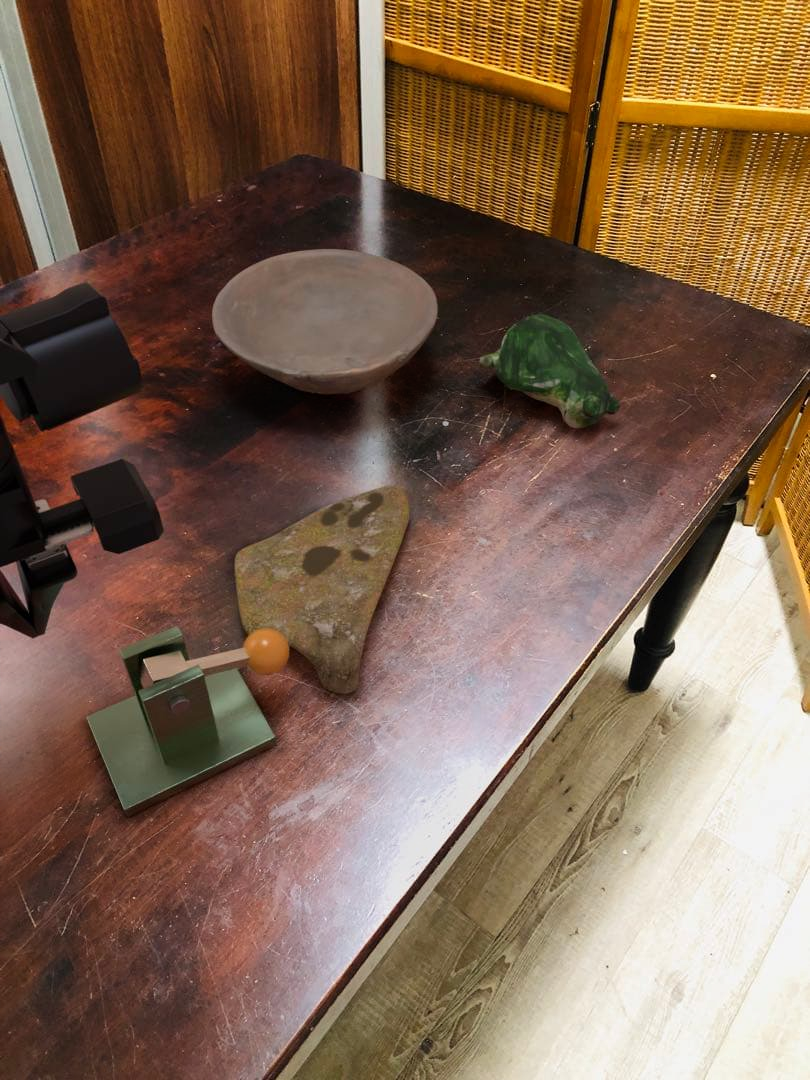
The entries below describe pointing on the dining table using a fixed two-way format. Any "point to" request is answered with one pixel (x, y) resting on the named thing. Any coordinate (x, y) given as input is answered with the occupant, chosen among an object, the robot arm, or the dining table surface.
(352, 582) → the decorative stone
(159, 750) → the switch bracket
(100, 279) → the dining table surface
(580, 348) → the figurine
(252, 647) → the switch lever
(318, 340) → the bowl
